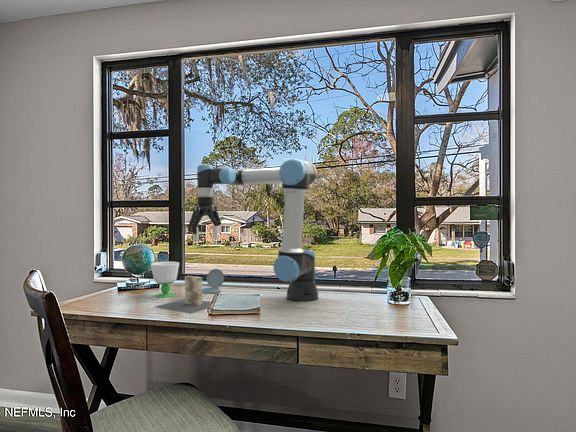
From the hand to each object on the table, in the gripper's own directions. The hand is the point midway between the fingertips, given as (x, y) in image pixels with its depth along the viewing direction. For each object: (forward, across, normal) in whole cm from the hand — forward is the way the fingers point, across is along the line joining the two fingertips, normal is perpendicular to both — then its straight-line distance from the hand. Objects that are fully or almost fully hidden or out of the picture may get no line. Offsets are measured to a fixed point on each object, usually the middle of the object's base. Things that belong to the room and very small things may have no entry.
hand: (205, 239), depth 214 cm
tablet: (+27, +20, +11) cm, 35 cm away
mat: (+27, +23, +11) cm, 37 cm away
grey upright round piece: (+28, -5, -2) cm, 28 cm away
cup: (+27, +12, -16) cm, 34 cm away
